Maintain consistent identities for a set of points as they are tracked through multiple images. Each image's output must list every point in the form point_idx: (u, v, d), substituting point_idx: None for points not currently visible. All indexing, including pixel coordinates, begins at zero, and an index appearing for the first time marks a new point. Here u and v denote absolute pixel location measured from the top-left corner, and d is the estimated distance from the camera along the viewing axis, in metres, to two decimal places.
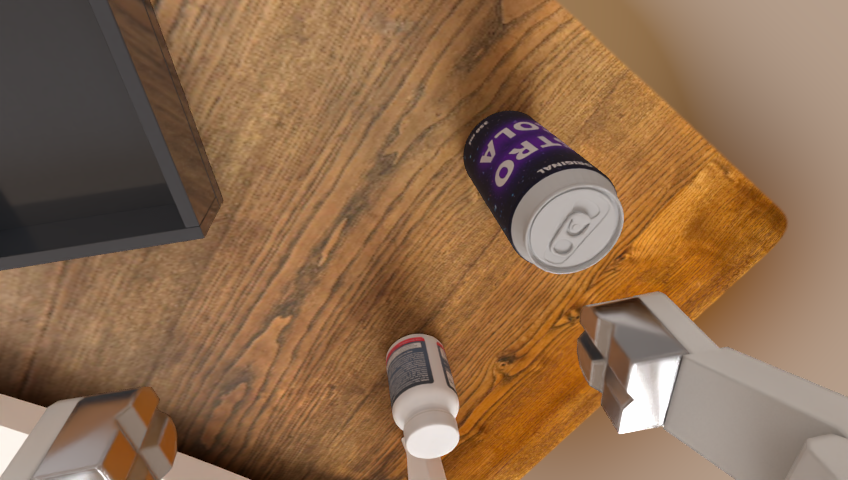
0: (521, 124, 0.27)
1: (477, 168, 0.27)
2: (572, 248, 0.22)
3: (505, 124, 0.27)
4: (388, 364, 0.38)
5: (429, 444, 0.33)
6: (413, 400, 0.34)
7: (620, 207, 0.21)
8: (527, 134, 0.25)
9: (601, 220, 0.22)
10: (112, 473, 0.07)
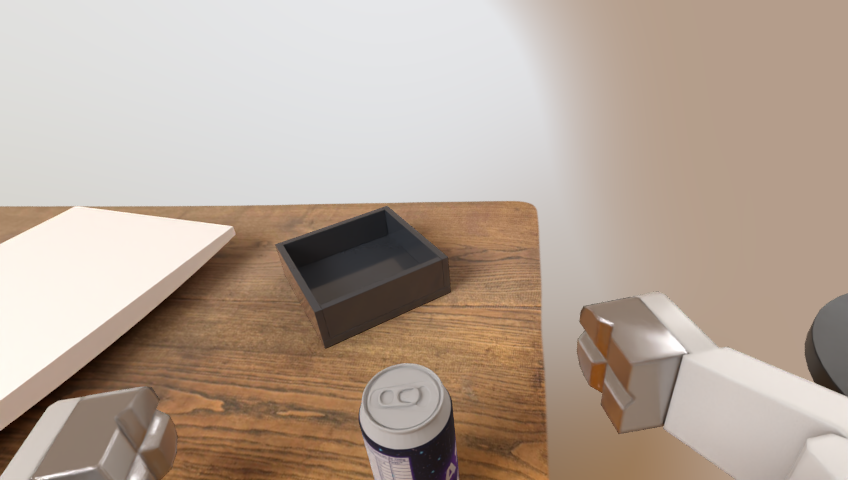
0: None
1: None
2: (388, 403, 0.27)
3: None
4: None
5: None
6: None
7: (435, 413, 0.26)
8: None
9: (418, 411, 0.26)
10: (112, 473, 0.07)
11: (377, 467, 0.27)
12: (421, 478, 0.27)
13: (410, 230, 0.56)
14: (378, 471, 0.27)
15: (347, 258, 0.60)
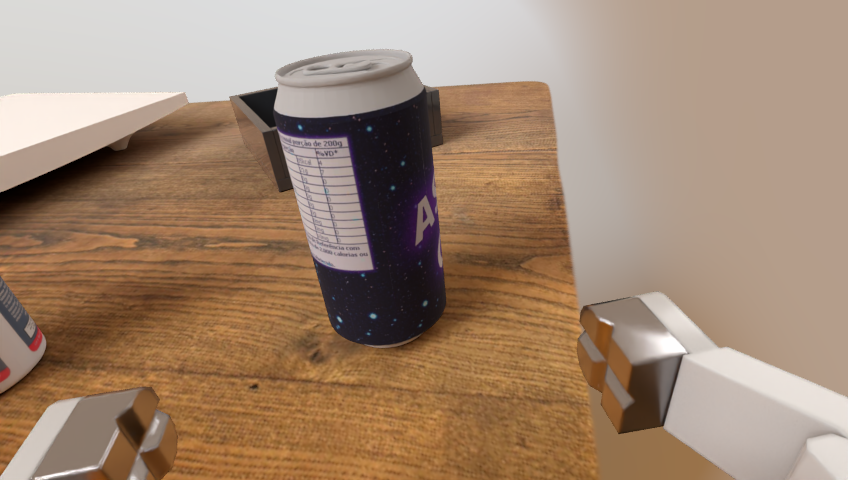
0: None
1: None
2: (317, 71, 0.16)
3: None
4: None
5: None
6: None
7: (393, 65, 0.15)
8: None
9: (366, 72, 0.15)
10: (112, 473, 0.07)
11: (303, 187, 0.17)
12: (373, 196, 0.16)
13: None
14: (305, 198, 0.17)
15: None
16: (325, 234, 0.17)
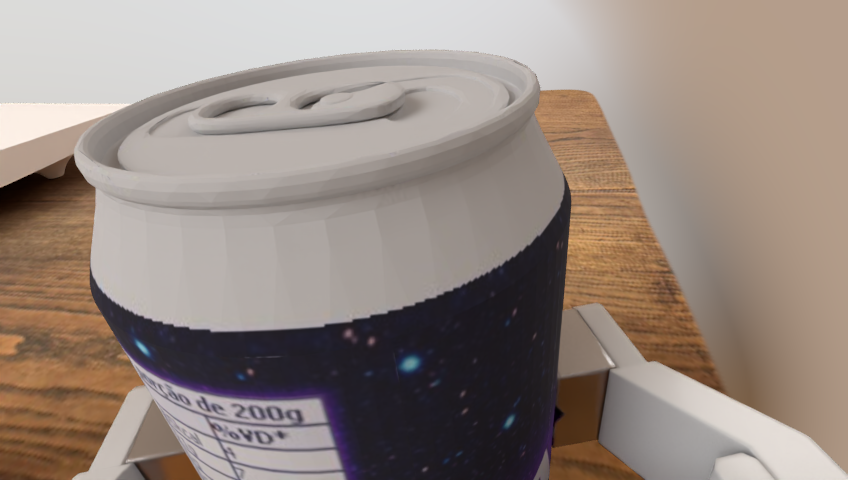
0: None
1: None
2: (232, 120, 0.05)
3: None
4: None
5: None
6: None
7: (500, 111, 0.04)
8: None
9: (395, 129, 0.04)
10: None
11: (195, 468, 0.05)
12: None
13: None
14: None
15: None
16: None
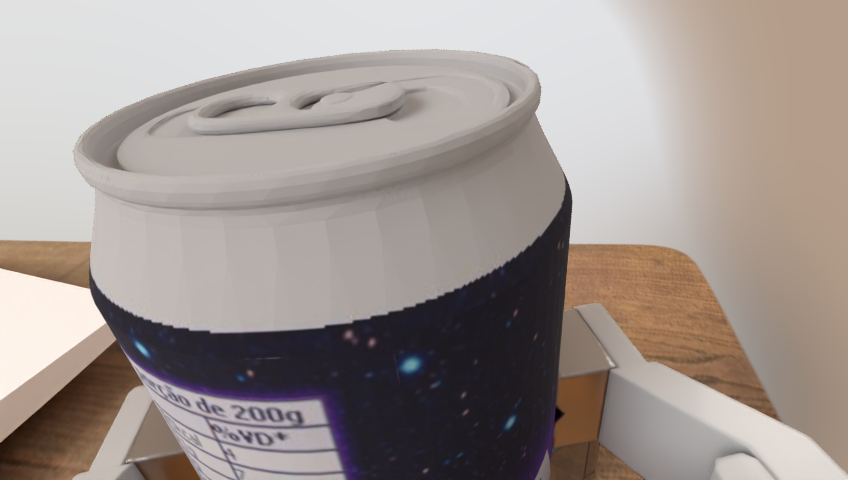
0: None
1: None
2: (233, 119, 0.05)
3: None
4: None
5: None
6: None
7: (501, 111, 0.04)
8: None
9: (396, 129, 0.04)
10: None
11: (195, 469, 0.05)
12: None
13: None
14: None
15: None
16: None
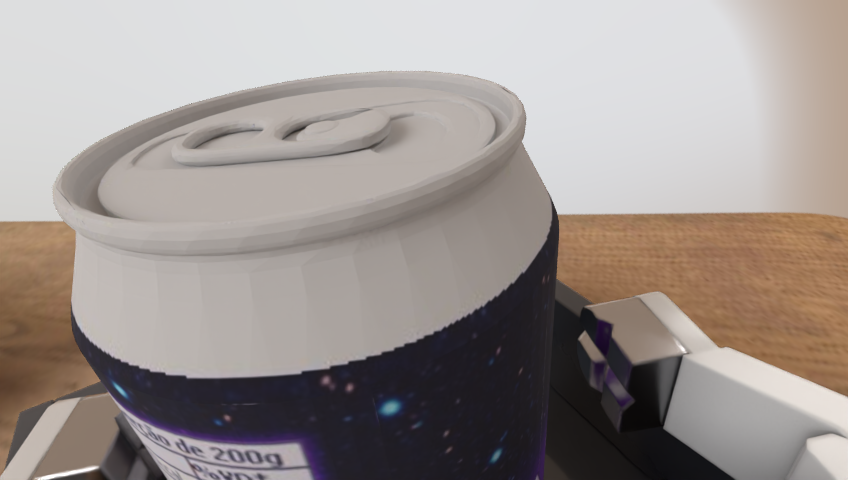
0: None
1: None
2: (216, 151, 0.05)
3: None
4: None
5: None
6: None
7: (483, 150, 0.04)
8: None
9: (378, 164, 0.04)
10: (112, 473, 0.07)
11: None
12: None
13: None
14: None
15: None
16: None
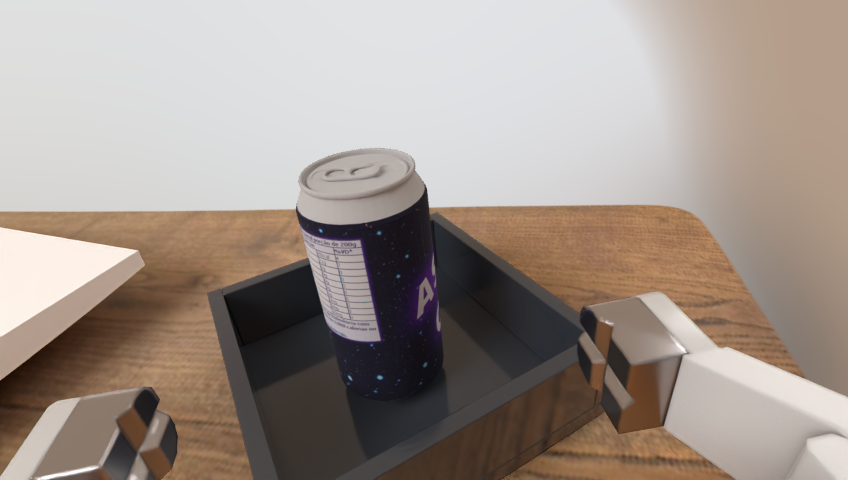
0: None
1: None
2: (335, 177, 0.19)
3: None
4: None
5: None
6: None
7: (399, 179, 0.18)
8: None
9: (376, 181, 0.18)
10: (112, 473, 0.07)
11: (321, 274, 0.19)
12: (381, 284, 0.19)
13: (498, 265, 0.26)
14: (323, 282, 0.20)
15: None
16: (339, 312, 0.20)
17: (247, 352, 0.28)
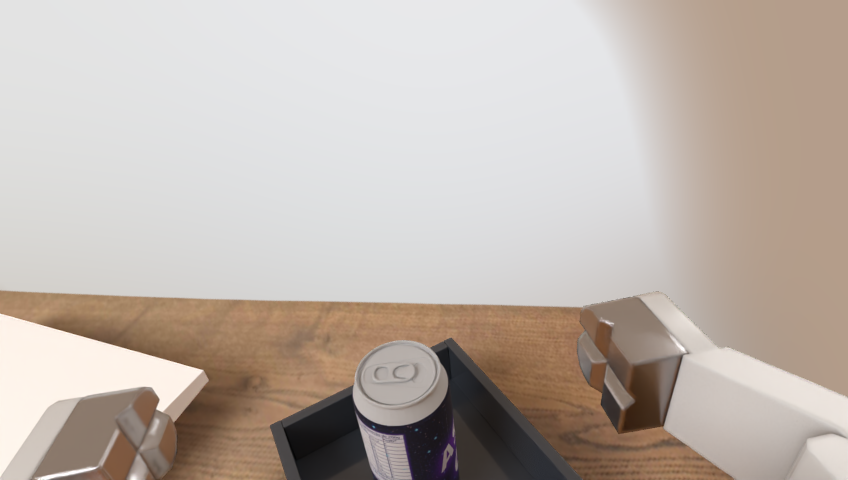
0: None
1: None
2: (382, 379, 0.25)
3: None
4: None
5: None
6: None
7: (431, 389, 0.24)
8: None
9: (413, 387, 0.25)
10: (112, 473, 0.07)
11: (371, 447, 0.26)
12: (417, 458, 0.25)
13: (502, 404, 0.33)
14: (372, 451, 0.26)
15: None
16: (384, 471, 0.27)
17: (300, 468, 0.34)
